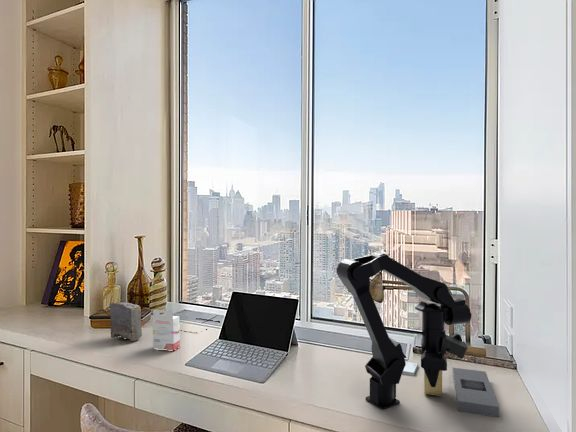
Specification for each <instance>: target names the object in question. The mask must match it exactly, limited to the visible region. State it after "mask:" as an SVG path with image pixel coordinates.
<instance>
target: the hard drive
mask: <svg viewBox="0 0 576 432" xmlns="http://www.w3.org/2000/svg"><path fill="white" fill-rule="evenodd" d="M405 362H406V366H405V367H404V370H403V372H402V375H406V376H411V377H412V376H413V377H415V375H416V372H417V369H418V368H419V364H418V363H416V362H409V361H405Z"/></svg>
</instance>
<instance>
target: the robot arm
mask: <svg viewBox="0 0 576 432" xmlns="http://www.w3.org/2000/svg"><path fill="white" fill-rule="evenodd" d="M380 272H384V273H386V274H387V275H389V276H391V277H392V278H395V279H396V280H398V281H400V282H402V283H404V284H405V285H407V286H409V287H410V288H411V289H412V290H413V292H414V293H415V294H416V295H418V296H419V297H420V298H421V299H424V300H426V301H428V302H431V303H427V302H425V301H422V300H421V301H420V302H419V303H418V304H417V305H416V306H415V307H414V309H415V310H416V311H420V312H421V315H422V316H421V319H422V320H421V341H420V343H421V346H420V347H421V355H420V368H422V369H423V371H425V373H426V376H427V378H428V380H429V383H430V385H431V387H436V383H437V379H438V375H439V371H440V370H442V372H443V371H444V372H445V371H447V370H448V362H447V361H448V360H447V358H446V356H445V354H447V352H448V353H449V354H452V355H454V356H457V357H458V358H460V359H464V358H465V355H466V353H467V351H468V347H469V346H468V345H467V343H466V342H465V341H462V340H463V339H462V335H461V334H459V333H456V332H455V333H454V334H453V335H448V334H446V329H445V324H446V325H447V326H454V325H464V324H465V325H466V324H469V323H470V322H471V320H472V312H471V310H470V308H469V306H468V305H467V300H466V299H463V298H455V299H454V298H453V296H452V295H451V293H450V292H449V287H448V285H447V284H446V283H444V282H441V281H439V280H435V279H434V278H433V279H432V278H430V277H426V276H424V275H421V274H420V273H418V272H416V271H414V270H413V269H411V268H409V267H407V266H406V265H404V264H402V263H400V262H399V261H397V260H396V259H393V258H392V257H390V256H389V255H388V254H386V253H382V252H374V253H372V254H369V255H365V256H361V257H355V258H353V259H351V258H345V259H342V260H341V261H340V262H339V263H338V264H337V267H336V275H337V277H338V278H339V279H340V281H341V283H342V284H343V286H344V287H345V289H347V290H348V292H349V293H350V294H351V296H352V297H353V300H354V302H355V305H356V307H357V310H358V312H359V315H360V316H361V319H362V321H363V323H364V326H365V329H366V331H367V333H368V335H369V338H370V340H371V354H372V357H371V358H370V359H369V361H368V362H367V363H366V364H365V366H364V368H365V371H366V373H368V375H370V376H371V377H369V395H368V396H366V397H365V400H366V401H368V402H369V403H371V404H372V405H374V406H375V407H378V408H379V409H381V410H385V409H389V408H391V407H394V406H396V405H399V404H400V402H401V401H400V400H399V399H397V385H398V384H400V382H401V377H402V375H403V374H402V372H403V370H404V367H405V366H406V362H407V361H406V358H407V356H406V355H405V354H404V352H403V346H402V345H401V343H400V342H398V341H396V340H394V339H393V338H391V337H390V336H389V334H388V332H387V330H386V329H387V328H386V327H385V325H384V323H383V320H382V317H381V315H380V313H379V310H378V307H377V305H376V303H375V299H374V298H373V295H372V294H371V279H370V278H373V277H374V276H376V275H378V274H379V273H380Z"/></svg>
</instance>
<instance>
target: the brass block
mask: <svg viewBox="0 0 576 432" xmlns="http://www.w3.org/2000/svg"><path fill="white" fill-rule="evenodd" d="M423 371H424V370H423ZM423 374H424V375H423V376H424V378H423V379H424V382H423V383H424V385H423V386H424V387H423V388H424V389H423V390H424V391H423V392H424V394H425V395H431V396H438V397H443V371H442V370H440V371H439V375H438V379H437V383H436V387H431V385H430V383H429V380H428V378H427V376H426V373H425V371H424V373H423Z"/></svg>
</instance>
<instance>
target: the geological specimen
mask: <svg viewBox="0 0 576 432" xmlns="http://www.w3.org/2000/svg"><path fill="white" fill-rule="evenodd" d="M109 315H110V338H112V339H113V338H119V337H121V338H122V337H123V338H122V339H124V338H126V339H130V340H129V341H131V342H136V341H137V340H140V339H141V338H142V336H143V330H142V310H141V306H140V305H138V304H133V303H130V302H129V301H125V302H121V301H118V302H111V303H109ZM118 336H119V337H118ZM126 339H125V340H126Z"/></svg>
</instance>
